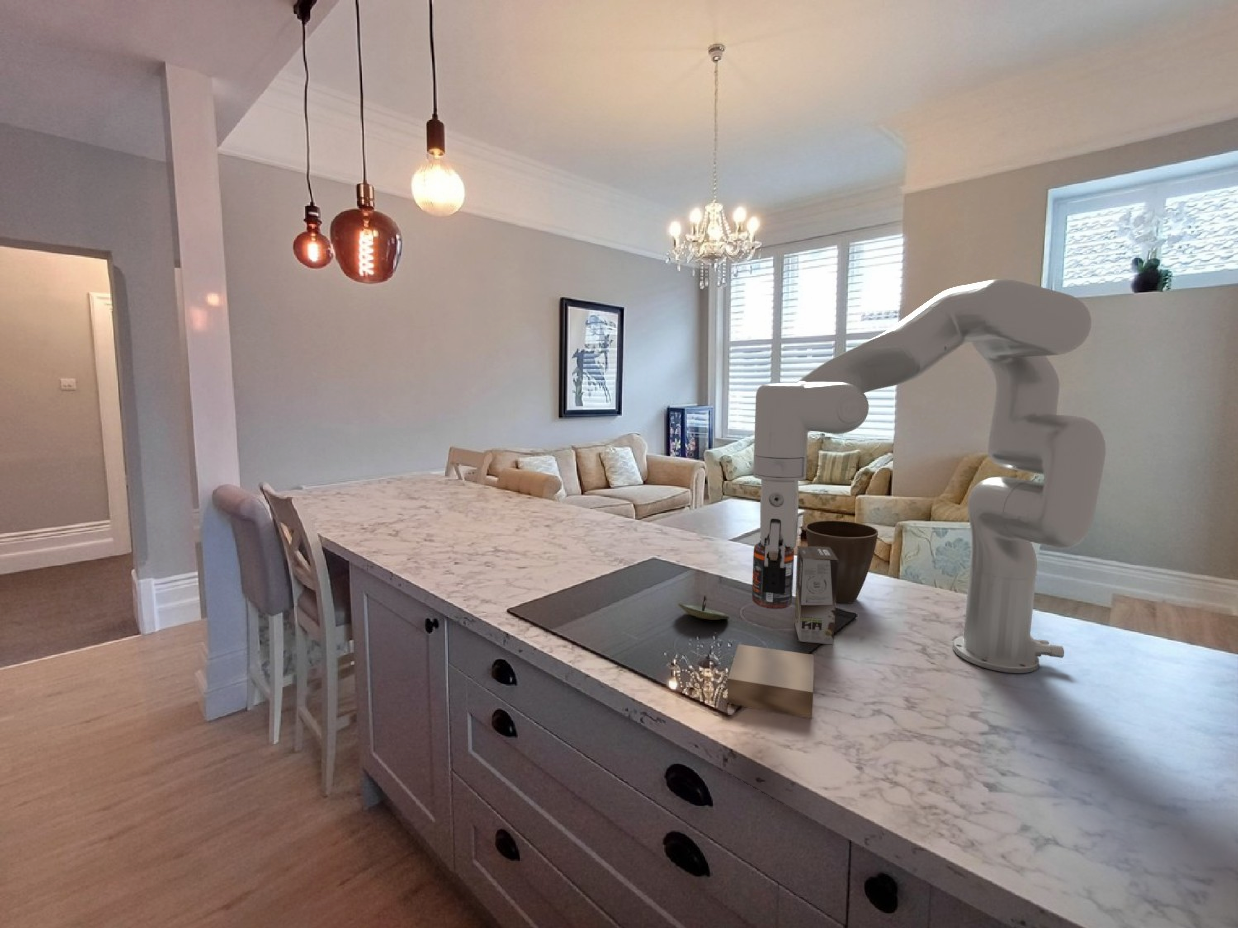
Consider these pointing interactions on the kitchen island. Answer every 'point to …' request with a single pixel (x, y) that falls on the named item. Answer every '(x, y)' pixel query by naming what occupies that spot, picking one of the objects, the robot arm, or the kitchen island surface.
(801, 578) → the coffee box
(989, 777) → the kitchen island surface
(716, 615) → the lid
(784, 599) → the supplement bottle
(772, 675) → the tan block
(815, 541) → the plant pot
